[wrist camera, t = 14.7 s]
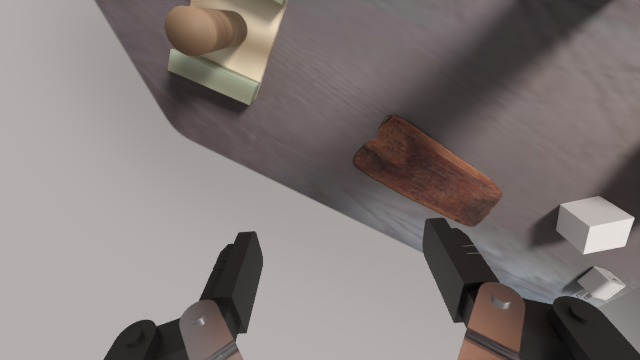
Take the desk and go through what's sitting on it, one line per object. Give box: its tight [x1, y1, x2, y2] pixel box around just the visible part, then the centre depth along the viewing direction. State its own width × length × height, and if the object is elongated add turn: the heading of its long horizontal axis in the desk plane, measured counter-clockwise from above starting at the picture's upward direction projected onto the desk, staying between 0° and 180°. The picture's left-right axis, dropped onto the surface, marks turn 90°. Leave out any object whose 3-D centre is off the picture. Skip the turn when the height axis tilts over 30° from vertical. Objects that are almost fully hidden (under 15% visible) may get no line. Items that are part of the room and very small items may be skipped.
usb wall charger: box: [576, 266, 625, 300], centre depth 54 cm, size 4×7×4 cm, turn 161°
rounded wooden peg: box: [165, 6, 247, 57], centre depth 27 cm, size 4×4×12 cm
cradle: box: [168, 0, 288, 105], centre depth 31 cm, size 14×10×4 cm
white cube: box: [556, 196, 634, 254], centre depth 44 cm, size 6×6×6 cm
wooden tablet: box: [354, 115, 502, 227], centre depth 43 cm, size 26×2×10 cm
